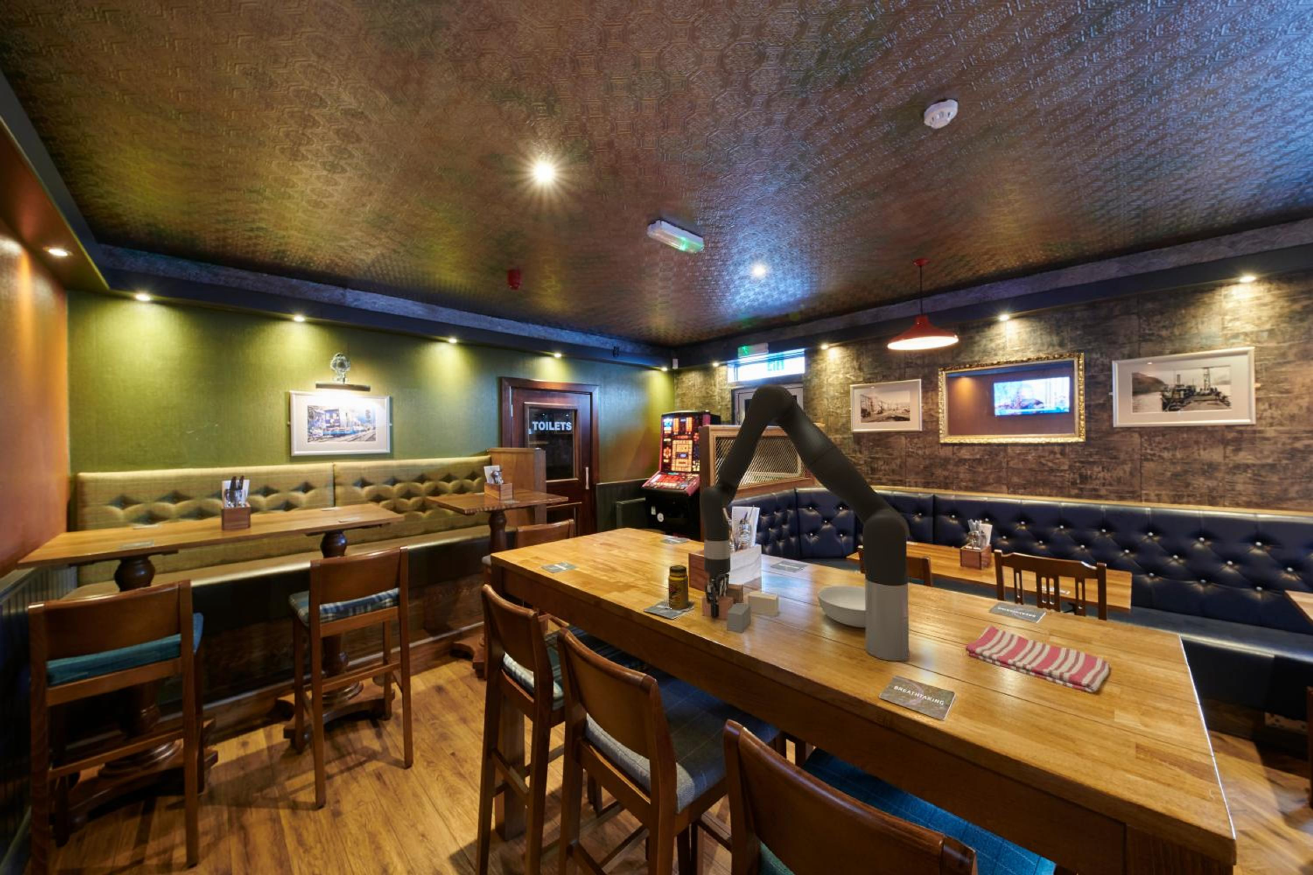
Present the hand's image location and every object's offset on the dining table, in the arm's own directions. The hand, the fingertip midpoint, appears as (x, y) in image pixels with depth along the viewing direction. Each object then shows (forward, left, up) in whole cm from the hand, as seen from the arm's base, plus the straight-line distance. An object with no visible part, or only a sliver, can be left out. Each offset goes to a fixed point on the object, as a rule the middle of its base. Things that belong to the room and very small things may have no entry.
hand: (717, 613), depth 138 cm
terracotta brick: (0, 0, 0) cm, 0 cm away
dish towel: (-74, -6, -1) cm, 74 cm away
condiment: (+13, -2, -1) cm, 13 cm away
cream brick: (-11, -8, -1) cm, 14 cm away
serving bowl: (-36, -13, -1) cm, 38 cm away
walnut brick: (+1, -12, 0) cm, 12 cm away
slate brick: (-8, +5, -1) cm, 9 cm away
